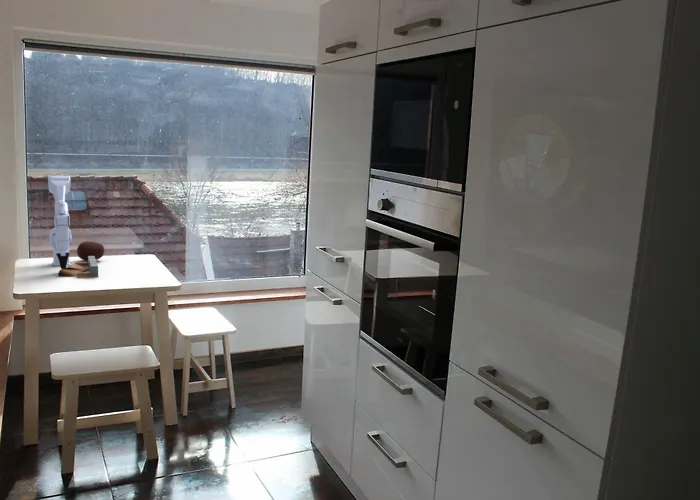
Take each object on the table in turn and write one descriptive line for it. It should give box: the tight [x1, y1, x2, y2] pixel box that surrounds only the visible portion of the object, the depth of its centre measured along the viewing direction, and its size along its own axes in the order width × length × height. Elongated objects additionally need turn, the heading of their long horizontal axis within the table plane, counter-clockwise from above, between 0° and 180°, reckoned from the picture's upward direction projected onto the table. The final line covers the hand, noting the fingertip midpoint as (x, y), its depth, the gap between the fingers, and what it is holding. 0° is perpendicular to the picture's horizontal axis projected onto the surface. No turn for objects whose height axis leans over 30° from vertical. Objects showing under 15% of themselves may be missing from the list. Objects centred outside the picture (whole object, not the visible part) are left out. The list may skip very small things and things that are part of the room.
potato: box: [76, 240, 105, 262], centre depth 326 cm, size 11×13×10 cm
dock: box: [74, 256, 99, 279], centre depth 302 cm, size 27×9×5 cm, turn 25°
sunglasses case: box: [57, 262, 89, 278], centre depth 298 cm, size 18×7×7 cm
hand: (63, 268), depth 298 cm, fingers closed
